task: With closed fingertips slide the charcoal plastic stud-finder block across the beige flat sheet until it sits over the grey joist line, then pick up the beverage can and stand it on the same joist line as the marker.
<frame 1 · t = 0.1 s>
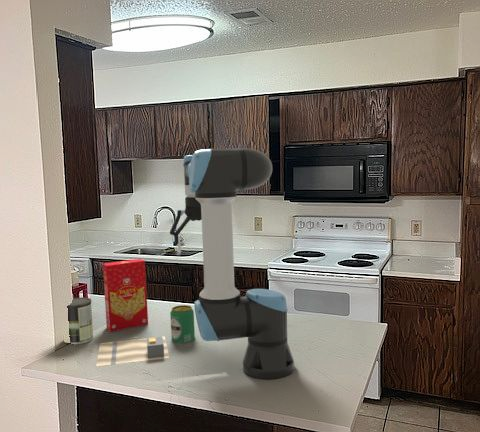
hand: (197, 251, 184), 28 cm above the worktop, fingers open, 13 cm apart
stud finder: (155, 353, 154), point 1 cm above the worktop, touching beige flat sheet
beverage can: (183, 342, 167), on the worktop
coffee can: (78, 340, 173), on the worktop
food packaging: (127, 326, 186), on the worktop
beige flat sheet: (133, 353, 157), on the worktop
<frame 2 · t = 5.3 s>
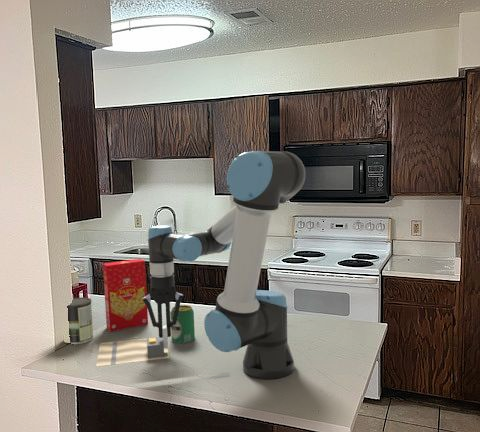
hand: (165, 346, 155), 3 cm above the worktop, fingers closed
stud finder: (155, 353, 154), point 1 cm above the worktop, touching gripper, beige flat sheet
everything else where it was.
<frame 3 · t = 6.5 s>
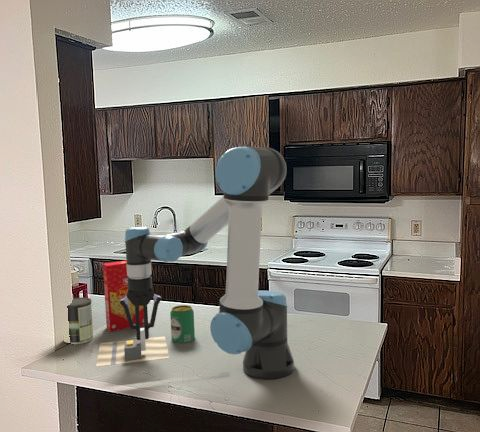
hand: (143, 349, 153), 3 cm above the worktop, fingers closed
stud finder: (133, 355, 152), point 1 cm above the worktop, touching gripper
everything else where it was.
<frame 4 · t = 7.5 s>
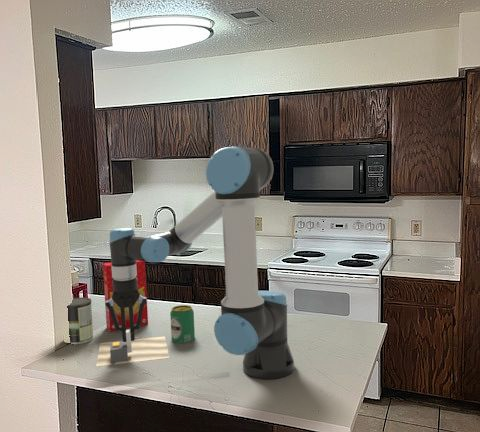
hand: (129, 350, 152), 3 cm above the worktop, fingers closed
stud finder: (119, 357, 151), point 1 cm above the worktop, touching gripper, beige flat sheet
everything else where it was.
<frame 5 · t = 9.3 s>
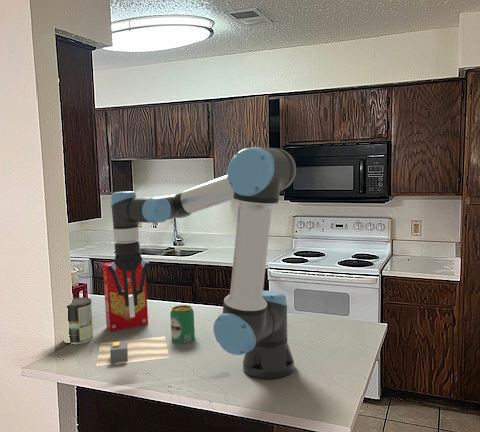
hand: (132, 315, 151), 14 cm above the worktop, fingers closed
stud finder: (119, 357, 151), point 1 cm above the worktop, touching beige flat sheet
everything else where it was.
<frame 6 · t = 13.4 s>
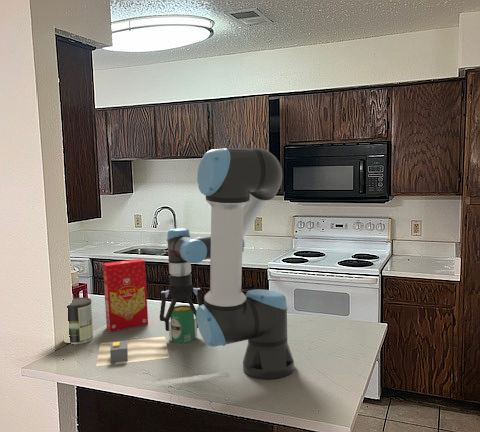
hand: (183, 338, 167), 1 cm above the worktop, fingers closed on beverage can, 8 cm apart
beverage can: (183, 342, 167), on the worktop, touching gripper
everything else where it was.
when the fingers open (4 cm above the worktop, at t = 19.0 s): beverage can drops 1 cm, resting on beige flat sheet.
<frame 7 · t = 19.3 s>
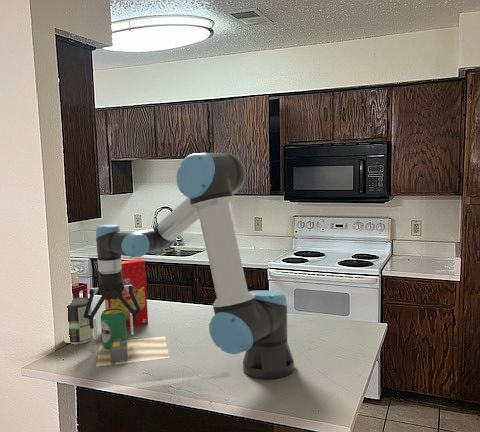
hand: (114, 335, 161), 5 cm above the worktop, fingers open, 11 cm apart
beverage can: (115, 346, 162), point 1 cm above the worktop, touching beige flat sheet
everything else where it was.
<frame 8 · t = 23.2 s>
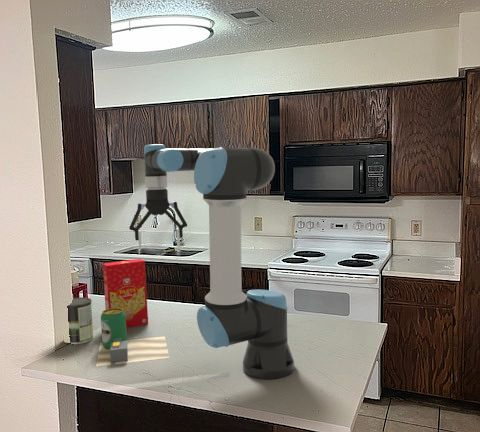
hand: (159, 248, 172), 32 cm above the worktop, fingers open, 13 cm apart
nothing on the worktop moved.
at the end: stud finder inside the target area on the beige flat sheet (5.3 cm from its centre), point 1.2 cm above the beige flat sheet's base; beverage can inside the target area (0.1 cm from its centre), point 1.0 cm above the worktop; beverage can tilted 0° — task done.
